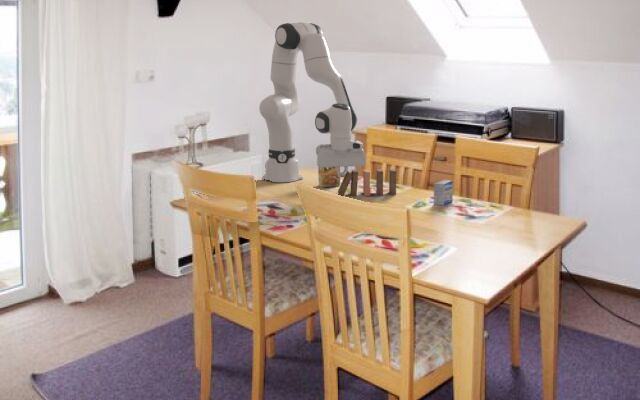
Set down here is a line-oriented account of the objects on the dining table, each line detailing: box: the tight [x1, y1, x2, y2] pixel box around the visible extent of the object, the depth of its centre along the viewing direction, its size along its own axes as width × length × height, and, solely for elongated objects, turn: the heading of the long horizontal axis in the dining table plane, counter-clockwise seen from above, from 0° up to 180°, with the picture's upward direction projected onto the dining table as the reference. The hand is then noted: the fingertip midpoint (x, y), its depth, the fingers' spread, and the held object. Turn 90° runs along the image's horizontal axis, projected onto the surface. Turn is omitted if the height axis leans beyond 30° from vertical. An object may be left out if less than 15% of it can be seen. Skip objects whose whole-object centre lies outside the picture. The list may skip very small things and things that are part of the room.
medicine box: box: [433, 179, 454, 207], centre depth 291 cm, size 8×4×9 cm, turn 143°
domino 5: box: [388, 168, 397, 196], centre depth 307 cm, size 5×2×10 cm, turn 5°
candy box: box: [317, 166, 341, 188], centre depth 321 cm, size 9×4×15 cm, turn 107°
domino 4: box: [375, 168, 384, 196], centre depth 307 cm, size 5×2×10 cm, turn 5°
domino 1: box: [337, 170, 353, 197], centre depth 306 cm, size 5×2×10 cm, turn 5°
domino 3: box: [362, 169, 371, 197], centre depth 306 cm, size 5×2×10 cm, turn 5°
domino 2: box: [349, 169, 359, 197], centre depth 306 cm, size 5×2×10 cm, turn 5°
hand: (341, 176), depth 305 cm, fingers closed
